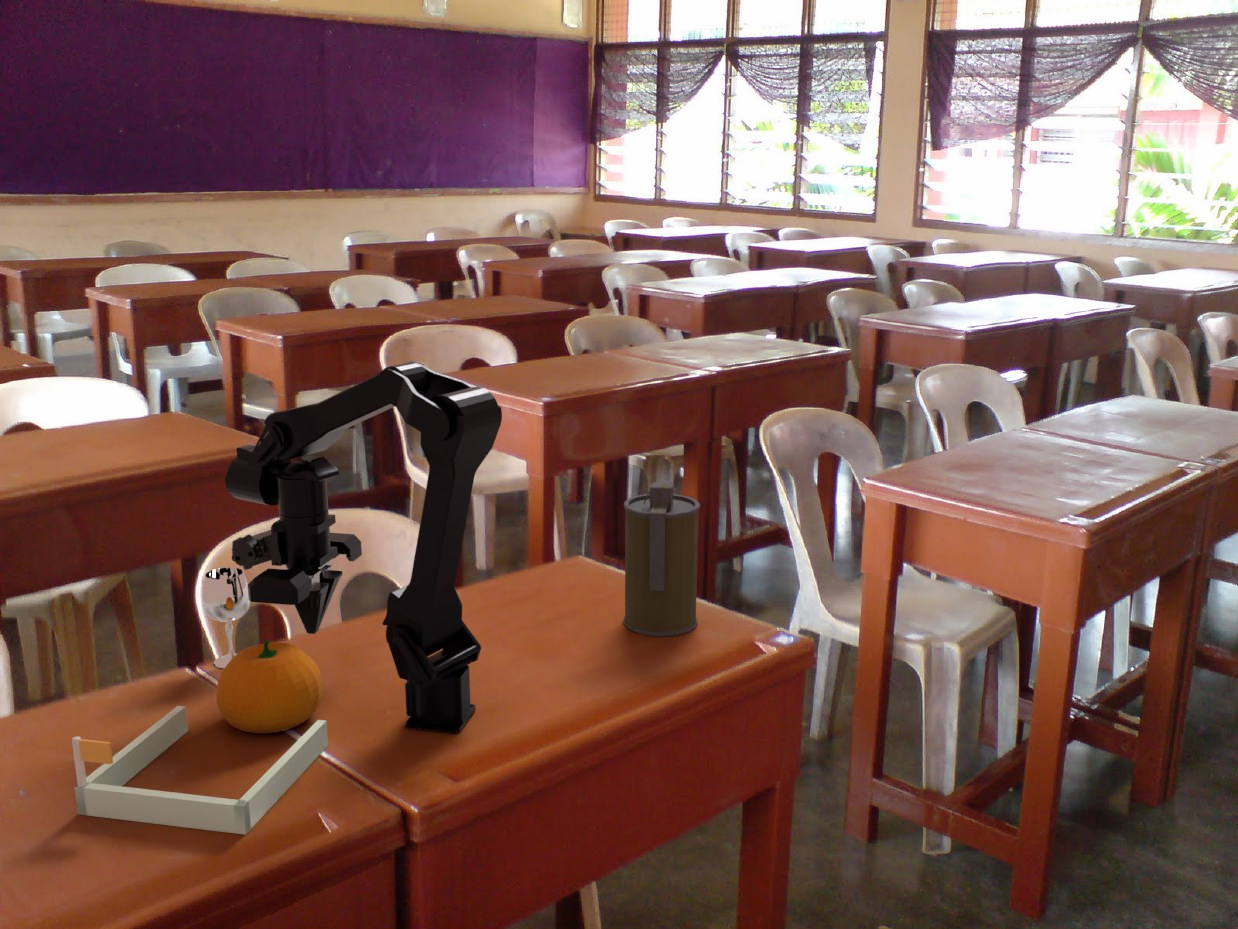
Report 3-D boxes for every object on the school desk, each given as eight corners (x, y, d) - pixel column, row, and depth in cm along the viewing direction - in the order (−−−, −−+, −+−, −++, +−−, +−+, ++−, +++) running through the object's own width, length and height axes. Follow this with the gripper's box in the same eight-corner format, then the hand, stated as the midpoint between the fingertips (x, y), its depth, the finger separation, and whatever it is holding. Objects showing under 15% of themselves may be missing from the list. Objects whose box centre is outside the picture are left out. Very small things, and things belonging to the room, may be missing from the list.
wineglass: (241, 672, 146) (233, 582, 143) (199, 668, 147) (191, 579, 144) (263, 654, 152) (256, 567, 149) (223, 650, 153) (215, 564, 150)
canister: (628, 607, 168) (629, 473, 163) (700, 610, 167) (702, 476, 162) (618, 635, 158) (618, 494, 153) (694, 640, 156) (697, 497, 151)
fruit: (344, 719, 134) (339, 638, 131) (252, 755, 126) (245, 670, 123) (290, 689, 142) (284, 612, 139) (200, 721, 134) (192, 640, 131)
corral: (328, 745, 128) (323, 678, 126) (245, 834, 111) (239, 758, 109) (180, 730, 131) (173, 664, 129) (77, 814, 114) (68, 740, 112)
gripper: (278, 487, 149) (287, 601, 153) (200, 530, 131) (212, 657, 135) (359, 491, 147) (366, 607, 151) (291, 535, 129) (300, 665, 133)
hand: (312, 632), depth 143 cm, fingers closed
